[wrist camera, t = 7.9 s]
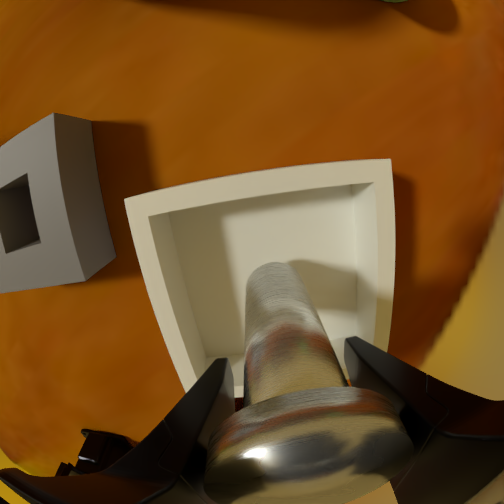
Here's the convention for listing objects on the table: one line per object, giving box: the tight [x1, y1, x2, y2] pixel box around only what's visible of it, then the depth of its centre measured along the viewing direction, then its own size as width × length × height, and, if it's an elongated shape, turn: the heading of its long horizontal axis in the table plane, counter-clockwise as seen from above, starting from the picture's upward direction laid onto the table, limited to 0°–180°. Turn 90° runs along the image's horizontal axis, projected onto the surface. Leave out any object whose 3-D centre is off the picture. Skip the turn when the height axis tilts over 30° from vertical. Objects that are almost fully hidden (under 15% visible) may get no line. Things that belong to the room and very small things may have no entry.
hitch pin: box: [203, 262, 414, 504], centre depth 9 cm, size 5×5×10 cm
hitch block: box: [0, 113, 117, 293], centre depth 13 cm, size 9×9×4 cm
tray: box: [124, 159, 395, 398], centre depth 14 cm, size 12×12×4 cm
